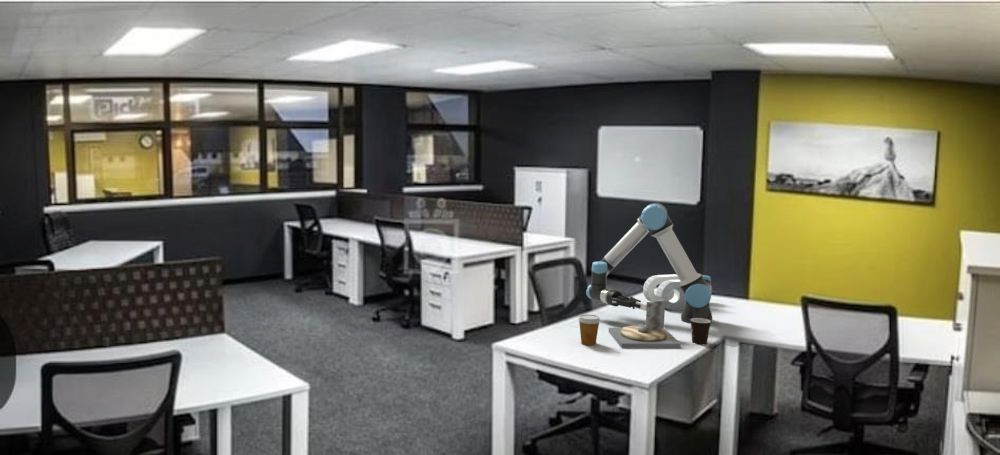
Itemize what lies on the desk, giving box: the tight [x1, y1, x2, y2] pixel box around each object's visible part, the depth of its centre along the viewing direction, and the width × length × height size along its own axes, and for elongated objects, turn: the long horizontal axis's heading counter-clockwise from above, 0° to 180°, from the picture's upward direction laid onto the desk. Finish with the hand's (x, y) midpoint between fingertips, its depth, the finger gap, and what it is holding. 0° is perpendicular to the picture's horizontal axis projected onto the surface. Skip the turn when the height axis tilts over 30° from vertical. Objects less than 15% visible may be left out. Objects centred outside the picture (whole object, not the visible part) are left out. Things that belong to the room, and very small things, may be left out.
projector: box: [642, 273, 713, 311], centre depth 390 cm, size 35×19×15 cm, turn 109°
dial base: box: [608, 327, 682, 349], centre depth 320 cm, size 26×26×2 cm
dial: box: [621, 300, 667, 341], centre depth 320 cm, size 22×20×14 cm
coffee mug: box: [690, 318, 711, 346], centre depth 318 cm, size 12×9×10 cm
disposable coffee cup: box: [578, 313, 601, 346], centre depth 312 cm, size 10×10×12 cm
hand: (646, 307), depth 327 cm, fingers closed
